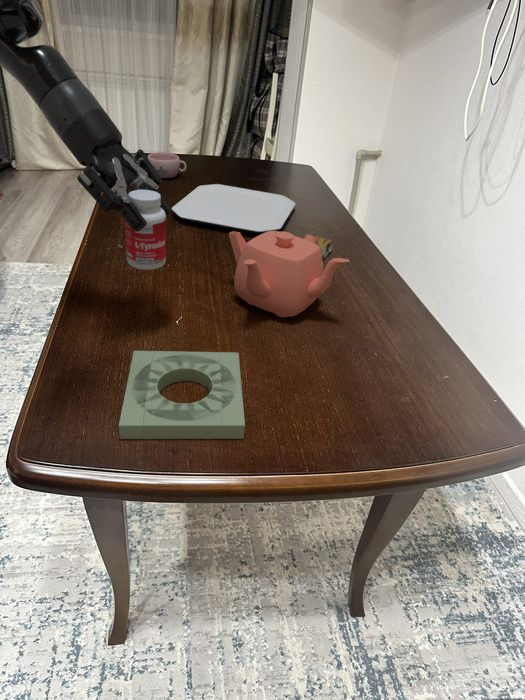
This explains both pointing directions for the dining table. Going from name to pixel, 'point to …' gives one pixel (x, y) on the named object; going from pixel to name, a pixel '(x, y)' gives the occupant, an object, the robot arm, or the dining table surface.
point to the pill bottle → (147, 232)
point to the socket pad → (183, 418)
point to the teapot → (281, 271)
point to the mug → (166, 164)
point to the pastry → (323, 246)
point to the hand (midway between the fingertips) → (154, 221)
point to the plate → (235, 208)
